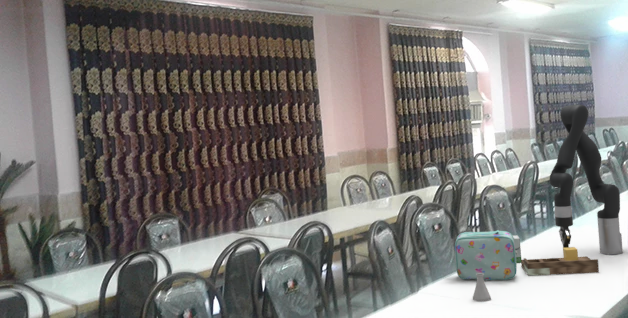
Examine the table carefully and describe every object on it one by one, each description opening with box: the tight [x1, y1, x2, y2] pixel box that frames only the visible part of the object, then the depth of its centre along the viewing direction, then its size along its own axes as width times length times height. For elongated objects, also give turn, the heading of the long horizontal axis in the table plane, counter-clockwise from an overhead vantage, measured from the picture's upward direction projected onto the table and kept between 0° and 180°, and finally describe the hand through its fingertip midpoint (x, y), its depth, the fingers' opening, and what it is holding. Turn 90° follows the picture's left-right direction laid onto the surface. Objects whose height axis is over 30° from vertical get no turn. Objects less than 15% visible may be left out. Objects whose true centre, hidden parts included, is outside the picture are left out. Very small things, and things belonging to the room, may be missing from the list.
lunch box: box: [454, 229, 519, 281], centre depth 263 cm, size 27×10×21 cm, turn 71°
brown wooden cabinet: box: [520, 256, 599, 277], centre depth 267 cm, size 29×17×6 cm, turn 80°
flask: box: [472, 273, 492, 302], centre depth 235 cm, size 7×7×10 cm
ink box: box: [512, 234, 522, 264], centre depth 288 cm, size 9×5×12 cm, turn 168°
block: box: [562, 246, 579, 261], centre depth 270 cm, size 5×5×5 cm
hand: (566, 252), depth 277 cm, fingers closed
